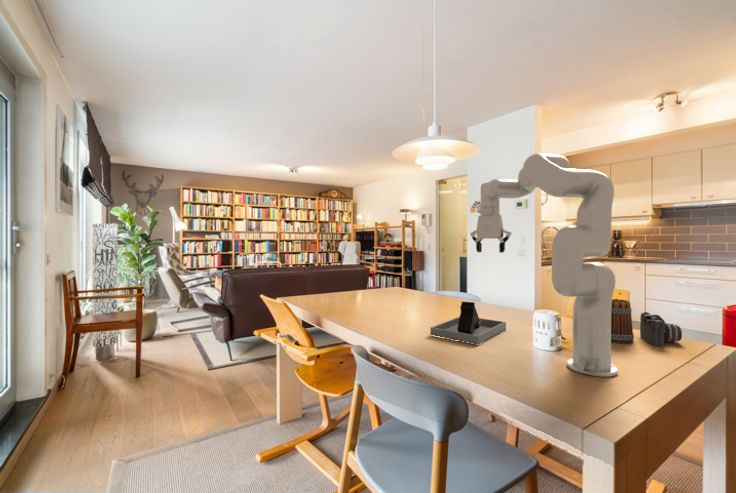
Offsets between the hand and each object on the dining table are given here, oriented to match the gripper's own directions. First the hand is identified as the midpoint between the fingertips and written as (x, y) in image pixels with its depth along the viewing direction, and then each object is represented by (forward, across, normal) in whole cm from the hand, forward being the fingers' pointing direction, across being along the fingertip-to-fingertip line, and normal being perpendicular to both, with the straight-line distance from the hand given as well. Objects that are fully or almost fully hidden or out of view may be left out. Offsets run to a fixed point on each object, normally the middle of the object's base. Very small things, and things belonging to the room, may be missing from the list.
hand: (490, 252), depth 145 cm
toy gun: (+33, -5, -10) cm, 35 cm away
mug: (+34, +40, +15) cm, 54 cm away
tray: (+33, -5, -10) cm, 35 cm away
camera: (+34, +55, +23) cm, 68 cm away
